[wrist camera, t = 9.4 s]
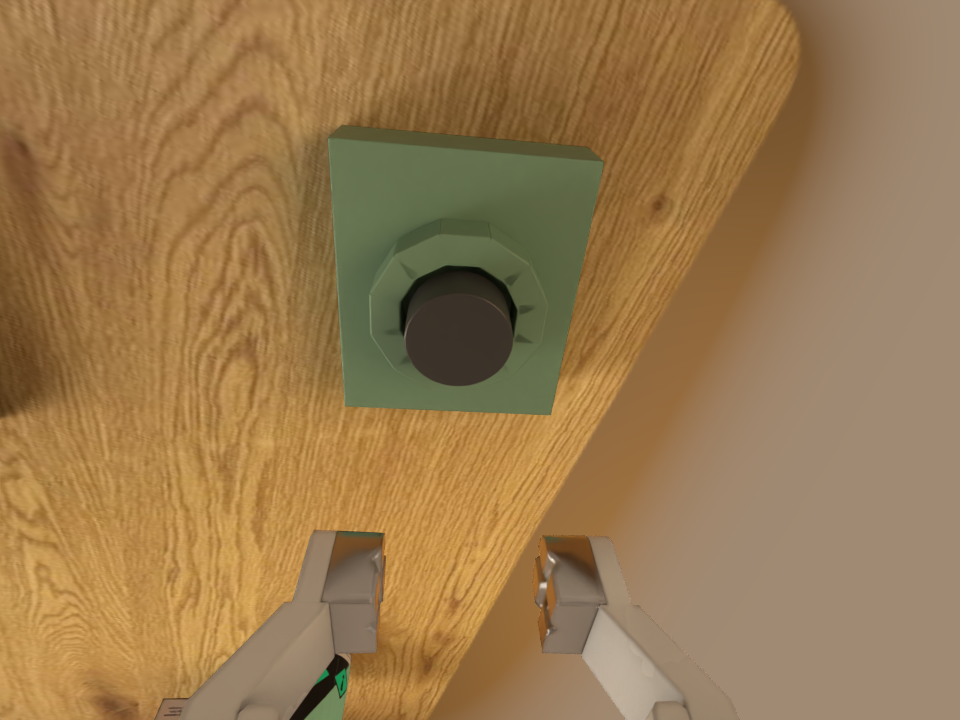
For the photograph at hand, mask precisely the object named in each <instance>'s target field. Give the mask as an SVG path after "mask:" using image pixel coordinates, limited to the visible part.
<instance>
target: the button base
mask: <svg viewBox="0 0 960 720" xmlns="http://www.w3.org/2000/svg"><path fill="white" fill-rule="evenodd" d="M328 149H329V165H330V181H331V197H332V212H333V228H334V244H335V260H336V276H337V291H338V307H339V323H340V339H341V355H342V371H343V386H344V402H345V406H349V407H372V408H395V409H418V410H441V411H464V412H487V413H510V414H533V415H551V412H552V407H553V402H554V397H555V393H556V388H557V383H558V379H559V374H560V369H561V364H562V360H563V355H564V350H565V346H566V341H567V336H568V331H569V327H570V322H571V317H572V312H573V308H574V303H575V298H576V294H577V289H578V284H579V279H580V275H581V270H582V265H583V261H584V256H585V251H586V246H587V242H588V237H589V232H590V227H591V223H592V218H593V213H594V209H595V204H596V199H597V194H598V190H599V185H600V180H601V175H602V171H603V166H604V161H602V160H601V159H600V158H599V157H598V156H597V155H596V154H595V153H594V152H593V151H592V150H590V149H589V148H588V147H580V146H569V145H558V144H547V143H536V142H525V141H514V140H503V139H492V138H480V137H469V136H458V135H447V134H436V133H425V132H414V131H403V130H392V129H381V128H370V127H358V126H347V125H341V126H340V127H339V128H338V129H337V130H336V131H335V132H334V133H333V134H332V135H331V136H329V137H328ZM448 271H468V272H472V273H476V274H479V275H481V276H483V277H485V278H487V279H488V280H490V281H491V282H493V283H494V284H495V285H496V286H497V287H498V288H499V290H500V291H501V292H502V294H503V296H504V297H505V300H506V302H507V306H508V311H509V316H510V321H511V326H512V331H513V346H512V351H511V353H510V356H509V358H508V360H507V361H506V363H505V364H504V366H503V367H502V368H501V369H500V370H499V371H498V372H497V373H496V374H494V375H493V376H492V377H490V378H488V379H487V380H485V381H482V382H480V383H477V384H473V385H469V386H448V385H443V384H440V383H437V382H434V381H432V380H430V379H428V378H427V377H425V376H424V375H422V374H421V373H420V372H419V371H418V370H417V369H416V368H415V367H414V366H413V364H412V363H411V361H410V360H409V358H408V356H407V353H406V350H405V346H404V332H405V326H406V319H407V313H408V307H409V303H410V301H411V298H412V296H413V295H414V293H415V291H416V290H417V289H418V288H419V287H420V286H421V285H422V284H423V283H424V282H425V281H427V280H428V279H429V278H431V277H433V276H435V275H438V274H440V273H444V272H448Z"/></svg>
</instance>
